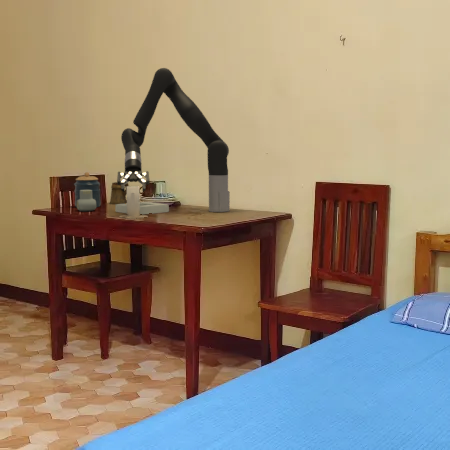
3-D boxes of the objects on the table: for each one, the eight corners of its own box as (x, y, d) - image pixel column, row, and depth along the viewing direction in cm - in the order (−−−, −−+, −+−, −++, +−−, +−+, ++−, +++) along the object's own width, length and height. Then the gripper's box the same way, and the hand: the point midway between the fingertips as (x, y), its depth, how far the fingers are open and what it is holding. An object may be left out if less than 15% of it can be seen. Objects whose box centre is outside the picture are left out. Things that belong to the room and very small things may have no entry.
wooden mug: (127, 205, 325) (126, 170, 322) (106, 203, 331) (105, 170, 329) (137, 203, 333) (136, 169, 330) (116, 202, 339) (115, 169, 336)
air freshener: (97, 211, 295) (96, 190, 294) (79, 212, 292) (78, 191, 291) (93, 209, 305) (92, 189, 304) (76, 210, 302) (75, 189, 301)
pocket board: (168, 211, 293) (168, 204, 293) (137, 215, 281) (137, 207, 281) (146, 208, 307) (146, 201, 306) (115, 211, 295) (115, 204, 294)
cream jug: (127, 215, 276) (126, 186, 274) (140, 215, 276) (139, 185, 274) (126, 217, 268) (126, 187, 266) (139, 217, 268) (139, 187, 267)
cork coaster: (147, 217, 273) (147, 216, 273) (130, 219, 267) (130, 217, 267) (136, 215, 279) (136, 214, 279) (119, 217, 273) (119, 215, 273)
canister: (74, 205, 321) (72, 171, 319) (99, 205, 325) (98, 171, 323) (75, 208, 309) (74, 173, 307) (102, 207, 313) (101, 172, 310)
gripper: (116, 158, 279) (116, 185, 269) (148, 157, 281) (149, 184, 271) (117, 169, 285) (117, 196, 275) (148, 169, 287) (149, 195, 277)
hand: (133, 190), depth 273 cm, fingers open, 8 cm apart
